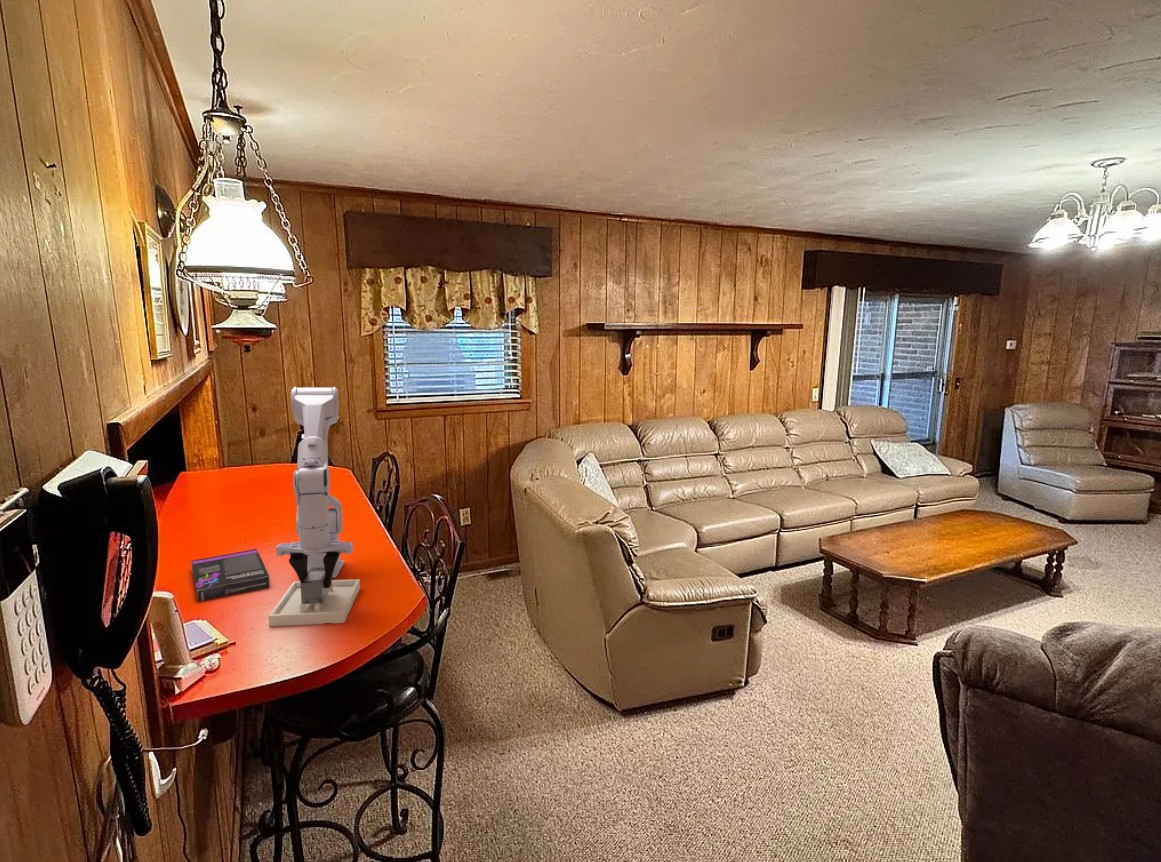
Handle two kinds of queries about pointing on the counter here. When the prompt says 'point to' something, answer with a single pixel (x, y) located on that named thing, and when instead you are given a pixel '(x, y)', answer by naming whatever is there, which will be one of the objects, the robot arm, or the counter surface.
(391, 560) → the counter surface
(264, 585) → the box
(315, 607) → the tray
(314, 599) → the block
